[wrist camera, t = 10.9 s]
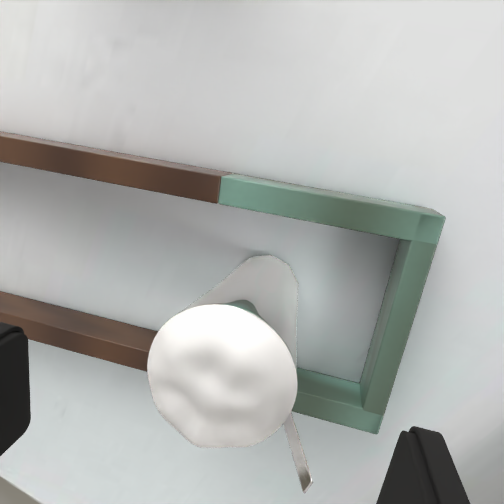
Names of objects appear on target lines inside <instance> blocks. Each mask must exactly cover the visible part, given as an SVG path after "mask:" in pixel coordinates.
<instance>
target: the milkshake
mask: <svg viewBox="0 0 504 504" xmlns="http://www.w3.org/2000/svg"><path fill="white" fill-rule="evenodd" d="M298 287H299V283H298V281H297V279H296V277H295V275H294V273H293V271H292V269H291V267H290V265H289V264H287V263H285V262H283V261H282V260H280V259H278V258H276V257H274V256H272V255H263V256H254V257H249V258H248V259H247V260H246V261H245V262H243V263H242V264H241V265H240V266H239V267H238V268H236V269H235V270H234V271H233V272H232V273H231V274H229V275H228V276H227V277H226V278H225V279H223V280H222V281H221V282H220V283H219V284H217V285H216V286H215V287H213V288H212V289H211V290H209V291H208V292H206V293H205V294H204V295H202V296H201V297H199V298H198V299H197V300H195V301H194V302H193V303H191V304H190V305H189V306H187V307H186V308H184V309H183V310H182V311H180V312H179V313H178V314H176V315H175V316H174V317H172V318H171V319H170V320H168V321H167V322H166V323H165V324H164V325H163V326H162V327H161V329H160V330H159V331H158V333H157V335H156V336H155V338H154V340H153V343H152V345H151V348H150V352H149V356H148V363H147V372H148V379H149V384H150V388H151V393H152V397H153V400H154V403H155V405H156V407H157V409H158V411H159V413H160V414H161V415H162V416H163V418H164V419H165V420H166V421H167V422H168V423H169V424H171V425H172V426H173V427H174V428H175V429H176V430H177V431H178V432H179V433H181V434H182V435H183V436H184V437H185V438H186V439H187V440H188V441H189V442H190V443H192V444H193V445H195V446H197V447H201V448H222V447H248V446H252V445H255V444H257V443H260V442H262V441H264V440H265V439H267V438H268V437H270V436H271V435H272V434H273V433H275V432H276V431H277V430H278V429H279V428H280V427H281V426H282V424H283V425H284V428H285V432H286V435H287V439H288V442H289V446H290V449H291V453H292V456H293V460H294V463H295V467H296V470H297V474H298V477H299V481H300V484H301V487H302V491H303V493H306V491H307V490H308V489H309V487H310V486H311V485H312V483H313V481H312V477H311V473H310V470H309V467H308V464H307V461H306V458H305V454H304V451H303V448H302V445H301V442H300V439H299V436H298V432H297V429H296V426H295V423H294V420H293V417H292V414H291V410H292V408H293V405H294V403H295V399H296V395H297V336H296V332H297V307H298Z"/></svg>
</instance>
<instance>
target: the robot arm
mask: <svg viewBox="0 0 504 504" xmlns="http://www.w3.org/2000/svg"><path fill="white" fill-rule="evenodd" d="M30 418H31V415H30V386H29V357H28V338H27V336H26V335H25V334H24V331H23V329H22V328H21V327H19V326H15V325H11V324H7V323H3V322H0V456H1V455H2V454H3V453H4V452H5V451H6V450H7V449H8V448H9V447H10V446H11V445H12V444H14V443H15V442H16V441H17V440H18V439H19V438H20V437H21V436H22V435H23V434H24V433H25V431H26V430H27V428H28V426H29V423H30ZM376 504H470V502H469V500H468V497H467V495H466V492H465V490H464V487H463V485H462V482H461V480H460V477H459V475H458V473H457V470H456V468H455V465H454V463H453V460H452V458H451V455H450V453H449V450H448V448H447V445H446V443H445V440H444V438H443V436H442V434H440V433H439V432H435V431H431V430H427V429H423V428H419V427H415V426H413V427H411V428H410V430H409V432H407V431H402V432H401V433H400V436H399V439H398V442H397V444H396V447H395V450H394V453H393V456H392V459H391V462H390V465H389V468H388V471H387V474H386V477H385V480H384V483H383V486H382V489H381V491H380V494H379V497H378V500H377V503H376Z"/></svg>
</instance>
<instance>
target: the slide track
mask: <svg viewBox="0 0 504 504" xmlns="http://www.w3.org/2000/svg"><path fill="white" fill-rule="evenodd" d="M0 162H4V163H10V164H15V165H20V166H25V167H30V168H35V169H40V170H46V171H51V172H56V173H61V174H66V175H71V176H77V177H82V178H87V179H92V180H97V181H102V182H108V183H113V184H118V185H123V186H128V187H133V188H139V189H144V190H149V191H154V192H159V193H164V194H170V195H175V196H180V197H185V198H190V199H195V200H201V201H206V202H211V203H216V204H217V203H219V204H222V205H227V206H232V207H237V208H242V209H248V210H253V211H258V212H263V213H268V214H273V215H279V216H284V217H289V218H294V219H299V220H304V221H310V222H315V223H320V224H325V225H330V226H335V227H341V228H346V229H351V230H356V231H361V232H366V233H372V234H377V235H382V236H387V237H392V238H397V239H400V242H399V245H398V249H397V252H396V256H395V260H394V263H393V267H392V270H391V274H390V277H389V281H388V284H387V288H386V291H385V295H384V299H383V302H382V306H381V309H380V313H379V316H378V320H377V323H376V327H375V331H374V334H373V338H372V341H371V345H370V348H369V352H368V355H367V359H366V362H365V366H364V370H363V373H362V377H361V380H360V383H356V382H352V381H348V380H344V379H340V378H336V377H332V376H328V375H324V374H320V373H317V372H313V371H309V370H305V369H301V368H297V395H296V399H295V403H294V405H293V408H292V410H291V411H293V412H297V413H300V414H304V415H308V416H311V417H315V418H319V419H322V420H326V421H329V422H333V423H337V424H340V425H344V426H348V427H351V428H355V429H359V430H362V431H366V432H370V433H373V434H378V432H379V429H380V426H381V423H382V419H383V416H384V413H385V410H386V407H387V403H388V400H389V397H390V394H391V391H392V387H393V384H394V381H395V378H396V375H397V371H398V368H399V365H400V362H401V359H402V356H403V352H404V349H405V346H406V343H407V340H408V336H409V333H410V330H411V327H412V324H413V320H414V317H415V314H416V311H417V308H418V304H419V301H420V298H421V295H422V292H423V289H424V285H425V282H426V279H427V276H428V273H429V269H430V266H431V263H432V260H433V257H434V253H435V250H436V247H437V244H438V241H439V238H440V234H441V231H442V228H443V225H444V222H445V219H446V218H445V216H443V215H441V214H440V213H438V212H436V211H435V210H433V209H430V208H425V207H419V206H413V205H408V204H402V203H397V202H391V201H386V200H380V199H374V198H369V197H363V196H358V195H352V194H346V193H341V192H335V191H330V190H324V189H319V188H313V187H307V186H302V185H296V184H291V183H285V182H279V181H274V180H268V179H263V178H257V177H252V176H246V175H240V174H235V173H234V174H232V173H230V172H224V171H218V170H213V169H207V168H202V167H196V166H190V165H185V164H179V163H174V162H168V161H163V160H157V159H151V158H146V157H140V156H135V155H129V154H123V153H118V152H112V151H107V150H101V149H96V148H90V147H84V146H79V145H73V144H68V143H62V142H57V141H51V140H45V139H40V138H34V137H29V136H23V135H17V134H12V133H6V132H1V131H0ZM0 322H3V323H7V324H11V325H15V326H19V327H21V328H22V329H23V331H24V334H25V335H26V336H27V338H28V339H30V340H34V341H37V342H41V343H45V344H48V345H52V346H55V347H59V348H63V349H66V350H70V351H74V352H77V353H81V354H85V355H88V356H92V357H96V358H99V359H103V360H106V361H110V362H114V363H117V364H121V365H125V366H128V367H132V368H136V369H139V370H143V371H146V372H147V363H148V356H149V352H150V348H151V345H152V343H153V340H154V338H155V336H156V335H157V333H158V332H157V331H153V330H149V329H146V328H142V327H138V326H134V325H130V324H126V323H122V322H118V321H114V320H110V319H106V318H103V317H99V316H95V315H91V314H87V313H83V312H79V311H75V310H71V309H67V308H63V307H60V306H56V305H52V304H48V303H44V302H40V301H36V300H32V299H28V298H24V297H20V296H17V295H13V294H9V293H5V292H1V291H0Z"/></svg>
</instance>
